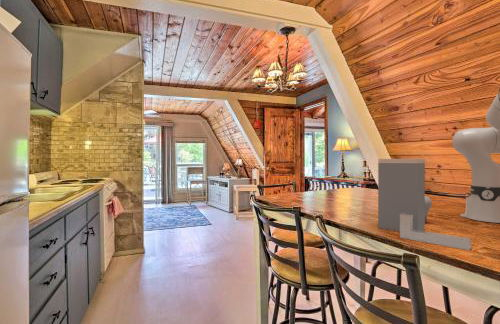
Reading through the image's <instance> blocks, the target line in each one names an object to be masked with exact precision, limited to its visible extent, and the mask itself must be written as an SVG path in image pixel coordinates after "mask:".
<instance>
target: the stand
mask: <svg viewBox="0 0 500 324" xmlns="http://www.w3.org/2000/svg"><path fill="white" fill-rule="evenodd" d="M425 160H426V159H425V158H378V160H377V161H378V162H377V164H378V165H377V167H378V170H377V172H378V173H377V174H378V177H377V179H378V181H377V183H378V184H377V186H378V187H377V189H378V190H377V193H378V195H377V198H378V199H377V201H378V202H377V203H378V204H377V205H378V206H377V207H378V208H377V209H378V210H377V213H378V214H377V215H378V218H377V219H378V221H377V223H378V224H377V226H378V227H377V228H378V229H381V230H388V231H389V230H390V231H395V232H400V214H402V213H407V214H413V229H414V230H420V231H424V230H425V228H426V227H425V226H426V225H425V224H426V223H425V222H426V221H425V196H426V193H425V192H426V190H425V188H426V186H425V185H426V184H425V183H426V180H425V179H426V177H425V176H426V175H425V173H426V171H425V169H426V168H425V167H426V161H425Z"/></svg>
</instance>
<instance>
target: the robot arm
mask: <svg viewBox="0 0 500 324" xmlns="http://www.w3.org/2000/svg"><path fill="white" fill-rule="evenodd" d="M485 121H486V123H487V124H488V125H489V127H469V128H464V129H460V130H458V131H456V132H455V133H454V134H453V137H452V139H451V140H452V141H451V143H452V147H453V149H454V150H455V151H456V152H458V153H460V155H462V156H463V157H464V158H465V159H466V161H467V162H468V164H469V166H470V170H471V185H470V189H469V190H470V195H469V196H468V197H467V198H466V199H465V212H464V213H461V214H460V217H462V218H466V219H469V220H470V219H471V220H474V221H479V222H484V223H485V222H486V223H498V224H500V163H498V162H496V161H494V159H492V156H491V154H500V88H499V89H498V92H497V94H496V95H495V97H494V99H493V101H492V103H491V104H490V106H489V108H488V110H487V112H486V113H485ZM490 126H491V127H490Z"/></svg>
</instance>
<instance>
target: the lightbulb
mask: <svg viewBox="0 0 500 324" xmlns="http://www.w3.org/2000/svg"><path fill="white" fill-rule="evenodd" d="M432 205H433V201H432V199H431V198H430V197H429V196H427V195H425V222H427V221H428V220H427V219H428V215H429V211H430V209H431V208H432Z"/></svg>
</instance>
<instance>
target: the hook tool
mask: <svg viewBox="0 0 500 324" xmlns="http://www.w3.org/2000/svg"><path fill="white" fill-rule="evenodd" d="M399 238H400V239H403V240H410V241H415V242H421V243H426V244H431V245H438V246H443V247H448V248H454V249H459V250H465V251H470V250H471V248H472V245H471V243H472V238H470V237H464V236H458V235H452V234H445V233H439V232H432V231H426V230H425V231H424V230H423V231H420V230H414V229H413V214H407V213H402V214H400V231H399Z"/></svg>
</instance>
